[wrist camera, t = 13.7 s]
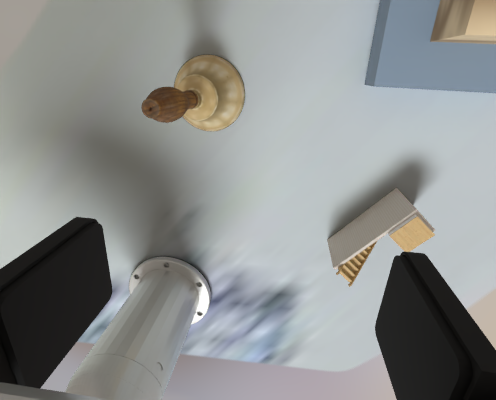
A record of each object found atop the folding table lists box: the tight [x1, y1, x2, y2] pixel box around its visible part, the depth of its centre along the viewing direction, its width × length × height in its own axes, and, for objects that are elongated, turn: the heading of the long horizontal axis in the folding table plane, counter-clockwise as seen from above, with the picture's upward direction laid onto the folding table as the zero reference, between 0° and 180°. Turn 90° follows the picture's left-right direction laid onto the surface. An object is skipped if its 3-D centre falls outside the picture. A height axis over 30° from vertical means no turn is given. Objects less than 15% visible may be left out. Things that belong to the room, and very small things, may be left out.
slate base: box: [365, 0, 496, 93], centre depth 28 cm, size 14×14×4 cm
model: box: [327, 188, 435, 287], centre depth 36 cm, size 3×11×8 cm, turn 137°
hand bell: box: [142, 55, 245, 131], centre depth 28 cm, size 8×8×16 cm
